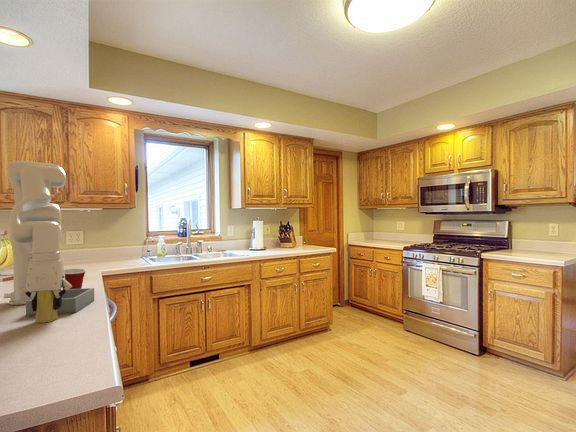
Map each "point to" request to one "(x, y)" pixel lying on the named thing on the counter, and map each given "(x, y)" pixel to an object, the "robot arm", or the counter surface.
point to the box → (69, 301)
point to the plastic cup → (74, 277)
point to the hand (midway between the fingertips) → (47, 308)
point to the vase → (45, 307)
